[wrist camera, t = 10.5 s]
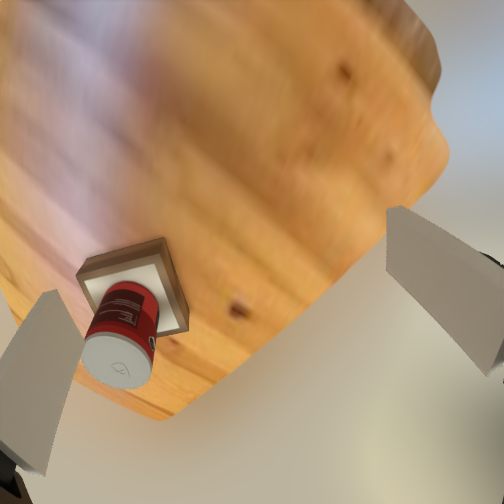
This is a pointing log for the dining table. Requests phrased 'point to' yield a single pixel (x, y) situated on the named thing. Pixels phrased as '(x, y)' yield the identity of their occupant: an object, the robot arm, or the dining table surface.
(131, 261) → the base block
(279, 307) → the dining table surface
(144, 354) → the canned food
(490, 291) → the robot arm
